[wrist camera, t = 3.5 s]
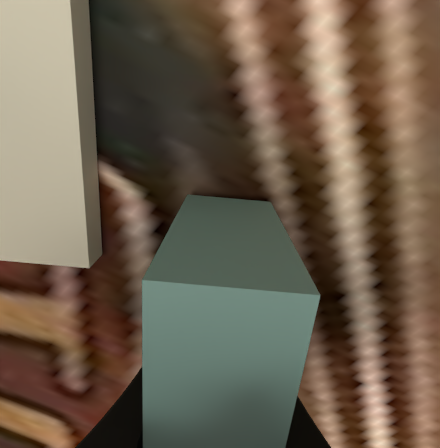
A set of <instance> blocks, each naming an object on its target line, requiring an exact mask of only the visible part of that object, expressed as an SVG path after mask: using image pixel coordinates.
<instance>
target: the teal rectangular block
mask: <svg viewBox="0 0 440 448" xmlns="http://www.w3.org/2000/svg"><path fill="white" fill-rule="evenodd" d="M319 300H320V293H319V292H318V290H317V288H316V286H315V284H314V282H313V280H312V279H311V277H310V275H309V273H308V271H307V269H306V267H305V265H304V264H303V262H302V260H301V258H300V256H299V254H298V252H297V250H296V249H295V247H294V245H293V243H292V241H291V239H290V237H289V235H288V234H287V232H286V230H285V228H284V226H283V224H282V222H281V221H280V219H279V217H278V215H277V213H276V211H275V209H274V207H273V206H272V204H271V202H267V201H255V200H244V199H233V198H221V197H210V196H199V195H187V196H186V198H185V200H184V202H183V204H182V206H181V208H180V210H179V212H178V213H177V215H176V217H175V219H174V221H173V223H172V225H171V227H170V228H169V230H168V232H167V234H166V236H165V238H164V240H163V242H162V243H161V245H160V247H159V249H158V251H157V253H156V255H155V257H154V258H153V260H152V262H151V264H150V266H149V268H148V270H147V272H146V273H145V275H144V277H143V279H142V388H143V448H285V447H286V442H287V438H288V434H289V429H290V425H291V421H292V416H293V412H294V408H295V403H296V399H297V395H298V390H299V386H300V382H301V377H302V373H303V369H304V365H305V360H306V356H307V352H308V347H309V343H310V339H311V334H312V330H313V326H314V321H315V317H316V313H317V308H318V304H319Z"/></svg>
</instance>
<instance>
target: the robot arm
mask: <svg viewBox="0 0 440 448" xmlns="http://www.w3.org/2000/svg"><path fill="white" fill-rule="evenodd" d="M75 448H143V388H142V368H141V369H140V370H139V372H138V373H137V375H136V376H135V378H134V379H133V380H132V382H131V383H130V384H129V386H128V387H127V388H126V390H125V391H124V392H123V394H122V395H121V396H120V397H119V399H118V400H117V401H116V402H115V403H114V405H113V406H112V407H111V408H110V409H109V411H108V412H107V413H106V414H105V416H104V417H103V418H102V419H101V420H100V421H99V422H98V424H97V425H96V426H95V427H94V428H93V429H92V430H91V431H90V432H89V434H88V435H87V436H86V437H85V438H84V439H83V440H82V441H81V442H80V443H79V444H78V445H77V446H76V447H75ZM285 448H331V447H330V445H329V444H328V442H327V441H326V440H325V438H324V437H323V435H322V434H321V432H320V431H319V429H318V428H317V426H316V425H315V423H314V422H313V420H312V419H311V417H310V415H309V414H308V412H307V411H306V409H305V407H304V406H303V404H302V402H301V401H300V399H299V397H298V396H297V399H296V403H295V408H294V412H293V416H292V421H291V425H290V429H289V434H288V438H287V442H286V447H285Z"/></svg>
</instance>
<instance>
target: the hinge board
mask: <svg viewBox="0 0 440 448" xmlns="http://www.w3.org/2000/svg"><path fill="white" fill-rule="evenodd" d="M101 255H102V238H101V220H100V201H99V183H98V165H97V146H96V128H95V109H94V91H93V73H92V54H91V36H90V17H89V0H0V260H2V261H13V262H24V263H36V264H47V265H58V266H70V267H81V268H90V267H91V266H92V265H93V264H94V263H95V262H96V261H97V260H98V258H99V257H100V256H101Z"/></svg>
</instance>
